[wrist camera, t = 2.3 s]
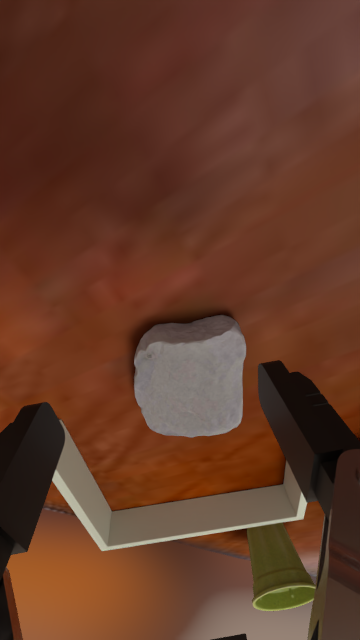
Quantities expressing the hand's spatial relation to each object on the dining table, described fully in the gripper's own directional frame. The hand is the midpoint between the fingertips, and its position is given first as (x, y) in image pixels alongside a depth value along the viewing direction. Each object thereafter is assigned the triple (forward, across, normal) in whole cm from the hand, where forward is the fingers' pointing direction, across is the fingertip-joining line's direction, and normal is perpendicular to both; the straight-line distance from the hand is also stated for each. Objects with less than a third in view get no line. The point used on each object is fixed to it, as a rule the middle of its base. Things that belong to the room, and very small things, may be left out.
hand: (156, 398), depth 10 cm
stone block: (+13, -1, +9) cm, 16 cm away
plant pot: (+13, -9, +45) cm, 48 cm away
